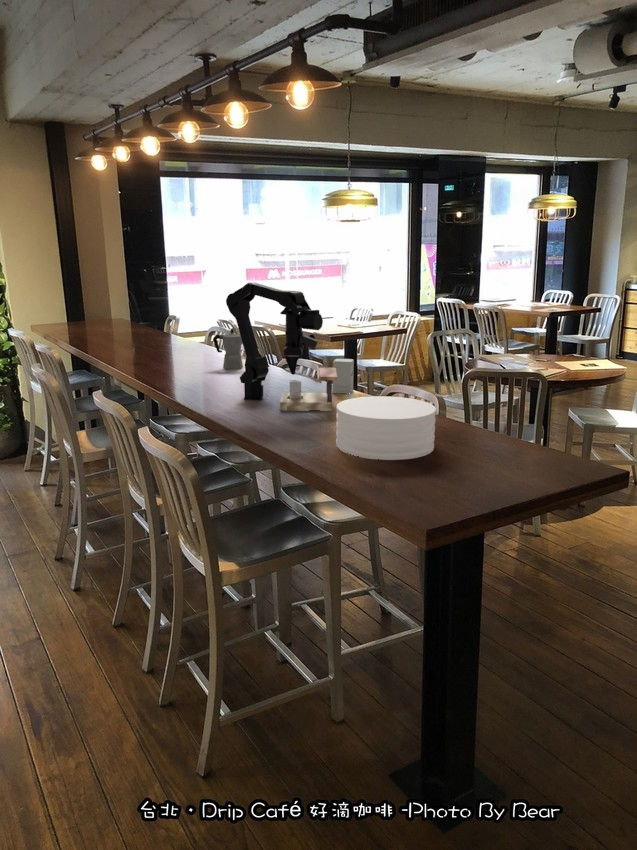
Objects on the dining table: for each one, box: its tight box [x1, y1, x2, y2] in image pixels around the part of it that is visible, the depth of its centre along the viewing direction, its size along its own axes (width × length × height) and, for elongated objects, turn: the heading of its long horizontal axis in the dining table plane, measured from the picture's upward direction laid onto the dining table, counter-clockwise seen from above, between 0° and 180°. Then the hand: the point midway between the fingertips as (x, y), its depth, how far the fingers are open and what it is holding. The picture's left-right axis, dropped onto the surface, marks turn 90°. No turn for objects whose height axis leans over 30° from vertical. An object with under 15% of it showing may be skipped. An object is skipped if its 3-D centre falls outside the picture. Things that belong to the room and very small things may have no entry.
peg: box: [289, 379, 302, 399], centre depth 242 cm, size 4×4×9 cm
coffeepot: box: [212, 328, 244, 370], centre depth 314 cm, size 15×9×18 cm, turn 103°
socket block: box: [279, 367, 337, 412], centre depth 241 cm, size 20×18×12 cm
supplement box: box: [332, 358, 355, 395], centre depth 264 cm, size 7×7×13 cm
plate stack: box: [335, 395, 437, 461], centre depth 194 cm, size 28×28×12 cm
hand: (293, 372), depth 241 cm, fingers open, 9 cm apart
